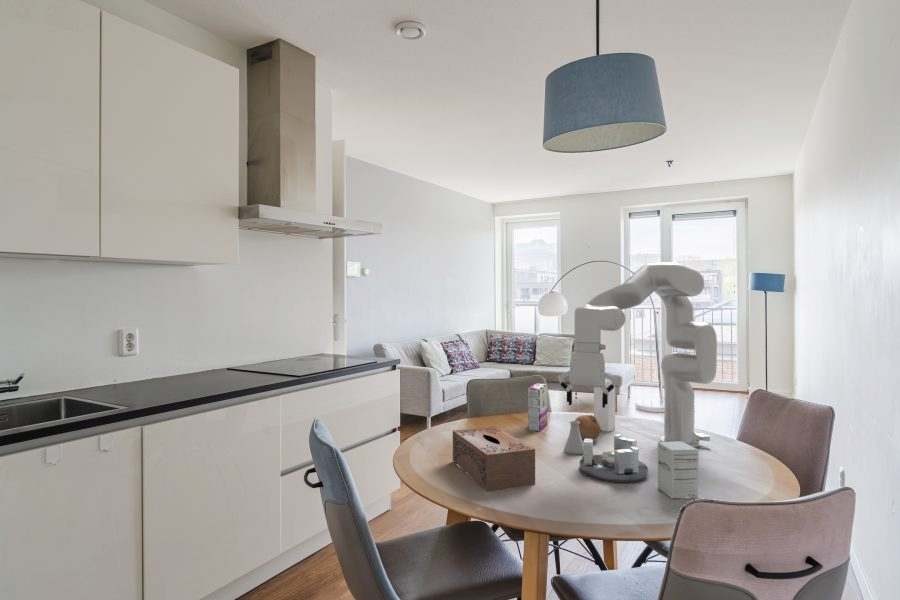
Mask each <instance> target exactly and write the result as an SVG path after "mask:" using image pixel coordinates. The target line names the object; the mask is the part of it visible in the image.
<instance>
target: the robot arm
mask: <svg viewBox="0 0 900 600" xmlns="http://www.w3.org/2000/svg"><path fill="white" fill-rule="evenodd" d="M704 280H705V279H704V277H703V276H702V274H701V273H700V272H699V271H697V270H695V269H693V268H691V267H687V266H685V265H682V264H680V263H676V262H672V261H671V262H666V261H665V262H652V263H647V264H644V265H642V266H640V267H639V269H637V270H636V271H635V272H634V273H633V274H632V275H631V276H630V277H628V278H627V279H626V280H625V281H623V283H622V284H619V285H616V286H615V287H612V288H610V289H608V290H606V291H604V292H603V291H602V292H601V293H599V294H597V295H596V296H594V297H593V298H591V299H590V300H589V301H588V302H587V303H586V304H585V305H584V306H577V307H576V308H575V310H574V336H573V337H574V345H573V346H574V349H573V351H572V352H571V354H570V355H571V357H570V363H569V370H568V371H566V372H563V373H561V374H559V375H557V380H558V382H559V384H560V386H561V387H562V388H563V389H564V391H566V402H568V406H572V404H573V391H572V389H573V388H574V387H583V388H585V387H587V388H594V387H600V388H601V389H602V391H603V394H602V407H603V408H605V404H608V393H609V392H610V391H611V390H612V389H613V388H614V387H615V388H616V385H617V383H618V381H619V380H618V378H617V377H615V376H613V375H612V376H611V375H609V374H607V373H608V372H606V367H605V364H606V363H605V356H604V353H603V352H601V351H603V350H606V344H602V343H601V334H602V332H601V331H605V332H614V331H615V332H616V331H618V330H620V329H621V328H623V326H624V325H625V323H626V315H625V312H624V311H623V310H626V309H632V308H634V307H637V306H640V305H641V304H642V303H643V302H645V300H646V299H648V298H649V297H650V295H652V293H654V292H655V294H657V296H658V297H659V298H660V299H661V301H663V303H664V305H665V311H666V315H665V316H666V320H665V321H666V322H665V323H666V329H665V330H666V333H665V334H666V337H665V338H666V342H667V345H668V346H669V347H671V348H674V349H679V350H687V351H688V350H689V351H690V350H691V351H695V353H690V352H689V353H688V352H678V351H677V352H675V351H673V352H669V353H667V354H665V355H664V356H663V357H662V359H661V362H660V363H661V364H660V365H661V367H660V368H661V373H662V377H663V386H664V389H663V390H664V410H663V411H664V414H663V415H664V421H663V422H664V433H663V434H664V435H662V436H660V437H659V442H675V441H682V442H684V443H686V444H688V445H690V446H692V447H694V448H696V449H697V448H698V447H699V446H700V441H703V442H710V441H711V440H710V439H711V438H710V435H707V434H706V435H705V434H704V433H697V432H696V430H695V391H694V389H693V386H692V385H691V383H697V384H705V385H706V384H707V385H708V384H711V383H713V382H714V380H715V378H716V375H717V361H718V360H717V357H718V356H717V353H718V352H717V350H718V347H717V346H718V343H717V342H718V341H717V334H716V331H715V328H714V327H713V326H712V325H711V324H710V323H707V322H702V321H694V307H693V304H692V302H691V300H690V299H689V297H690V298H691V297H697V296H698V295H700V294H701V293H702V292H703V290H704V288H705V281H704ZM566 377H569V384H567V383H566V381H564V379H565V378H566ZM605 378H607V379H609V380H611V381H612V383H611V385H610V386H608V387H606V386H605V385H604V383H605Z"/></svg>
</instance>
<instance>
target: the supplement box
mask: <svg viewBox="0 0 900 600" xmlns="http://www.w3.org/2000/svg"><path fill="white" fill-rule="evenodd" d="M657 489H658V490H660V491H662V492H663V493H664V494H665V495H667V496H668V497H669V498H670V499H672V498H683V499H687V498H686V497H691V498H690V499H698V498H699V449H698V448H697V447H696V448H694V447H692V446H690V445H688V444H686V443H684V442H682V441H675V442H660V441H658V442H657Z"/></svg>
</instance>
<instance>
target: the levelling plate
mask: <svg viewBox="0 0 900 600" xmlns="http://www.w3.org/2000/svg"><path fill="white" fill-rule="evenodd" d="M593 457H594V458H595V462H594V463H592V465H586V464H584V462H582V458H581V459H580V460H579V472H580V473H581V474H582V475H584V476H586V477H588V478H590V479H593V480H596V481H600V482H605V483H611V484H620V485H621V484H635V483H636V484H637V483H640V482H643V481H645V480H646V479H648V476H649V473H648V472H649V468H648V466H647V465H646V463H644V462H642V461H640V460H638V473H632V474H618V473H616V472H615V471H614V450H613V451H612V450H610V451H604V452H602V454H593Z"/></svg>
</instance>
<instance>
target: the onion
mask: <svg viewBox="0 0 900 600" xmlns="http://www.w3.org/2000/svg"><path fill="white" fill-rule="evenodd" d="M574 421H579V422H580V424H579V432H580V436H581V439H582V442H584V439H585V438H587V439H593V441H595V440H597V439H598V437H599V435H600V434H601V431H600V425H599V423H598V421H597V420H596V418H595V417H594V415H589V414H588V415H579V416H577V417H576V418H575V419H574Z"/></svg>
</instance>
